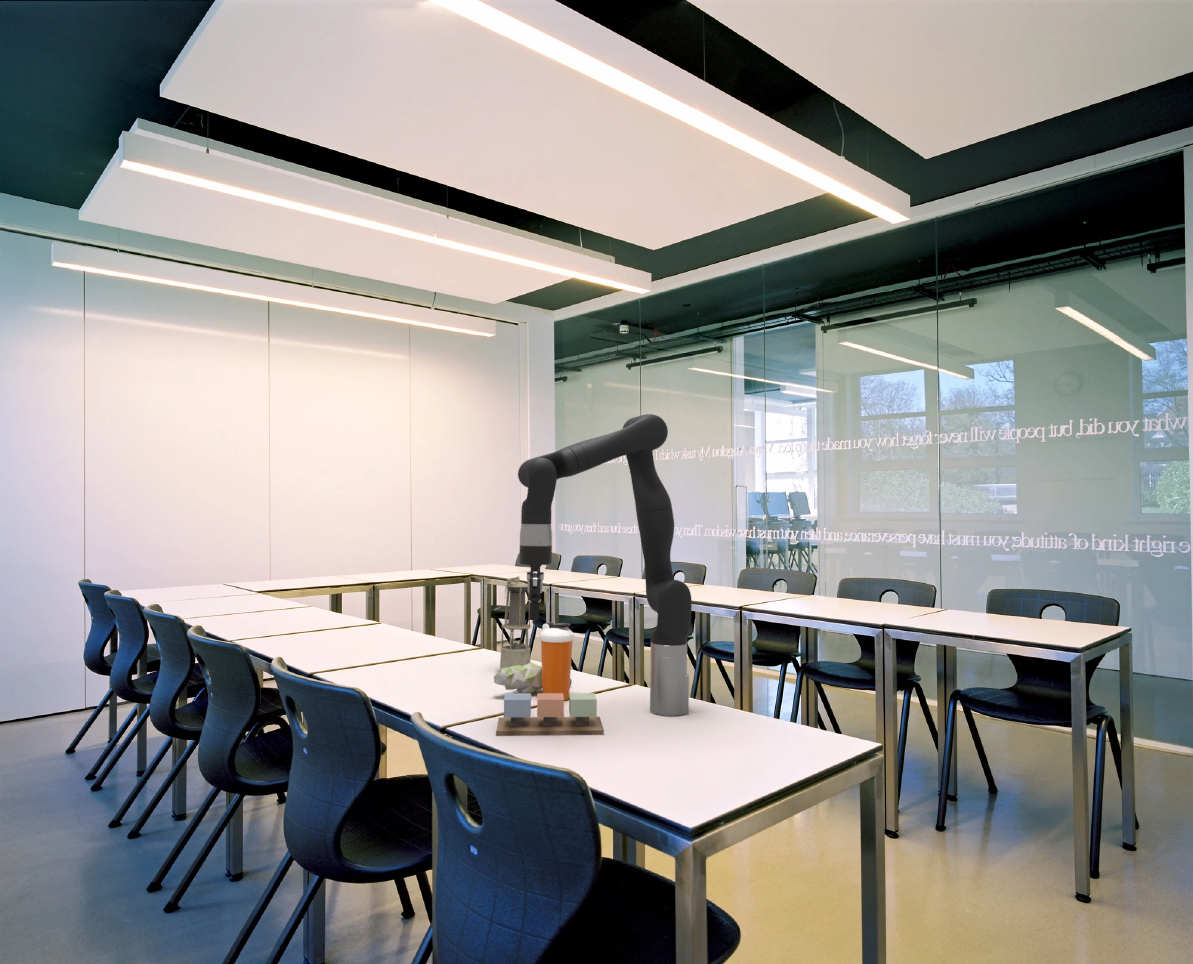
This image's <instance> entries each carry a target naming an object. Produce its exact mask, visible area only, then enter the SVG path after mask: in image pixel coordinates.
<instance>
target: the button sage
mask: <svg viewBox="0 0 1193 964" xmlns="http://www.w3.org/2000/svg"><path fill="white" fill-rule="evenodd" d="M568 700H569V701H568V703H569V704H568V712H569V717H598V716H597V712H598V711H597V708H598V706H597V704H598V703H597V702H598V701H597V700H598V699H597V696H596V693H594V692H584V693H583V692H579V693H578V692H577V693H576V692H569V699H568Z"/></svg>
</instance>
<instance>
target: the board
mask: <svg viewBox="0 0 1193 964" xmlns="http://www.w3.org/2000/svg"><path fill="white" fill-rule="evenodd" d="M592 735H593V736H594V735H595V736H596V735H597V736H598V735H599V736H600V735H601V736H604V735H605V729H604V726H603V723H602V719H601V716H597V717H570V716H564V717H537V716H530V717H504V716H502V717H498V721H497V725H496V729H495V736H497V737H498V736H503V737H504V736H505V737H506V736H510V737H511V736H513V737H514V736H592Z"/></svg>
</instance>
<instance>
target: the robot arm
mask: <svg viewBox="0 0 1193 964" xmlns="http://www.w3.org/2000/svg"><path fill="white" fill-rule="evenodd" d="M668 429H669V428H668V425H667V423H666V422H665V419H663V418H662V417H660V416H659V415H656V414H651V413H646V414H642V415H638V416H634V417H631V418H629V419H628V420H626V421H625V422H624V424H623V426H622V428H621V429H619V430H616V431H614V432H611V433H610V432H609V433H608V434H607V433H606V434H604V435H600V436H596V437H593V438H588V439H586V440H582V441H579V442H576V443H574V444H571V445H567V446H565V447H563V448H561V449H559V450H556V451H554V452H551V453H547V454H543V455H539V456H535V457H533V458H530V459H527V460H525V461H524V462H522V464H521V465H520V467H519V468H518V471H517V478H518V480H519V482H520V484H521V485H523V487H525V488H527V494H526V499H524V501H523V502H522V503H521V511H520V512H521V514H520V515H521V516H520V517H521V518H520V519H521V521H520V524H521V525H520V531H519V557H518V559H519V564H520V565H524V566H525V565H526V566H529V568H530V571H527V572H526V581H527V585H528V592H527V594H528V593H530V594H529V599H528V602H529V603H530V621H538V620H540V604H541V602H542V600H541V598H542V597H541V594H542V593H543V584H544V582H543V581H544V577H545V573H544V571H541V566H548V565H551V564H552V562H553V561H552V560H553V559H552V558H553V557H552V556H553V555H552V553H553V531H552V504H553V501H554V497H555V491H556V486H557V480H559V479H563V478H568V477H573V476H576V475H578V474H581V473H584V472H586V471H588V470H590V469H593V468H596V467H598V466H601V465H603V464H605V463H607V462H610V461H613V460H615V459H618V458H620V457H624V456H625V457H626V461H627V464H628V468H629V472H630V480H631V486H632V491H633V492H632V493H633V498H634V505H635V513H636V520H637V525H638V527H637V528H638V531H639V537H640V543H641V544H640V546H641V550H642V555H643V563H644V573H645V575H644V577H645V578H644V579H645V593H646V600H647V603H648V605H649V606H650V608H651V610H652V611H654V612H655V613H657V620H656V626H655V628H654V629H652V630H651V632H650V665H649V666H650V668H649V669H650V673H649V674H650V680H649V684H650V685H649V712H650V713H652V714H655V715H660V716H667V717H672V716H673V717H676V716H682V715H689V713H690V712H689V709H690V707H689V703H690V699H689V698H690V695H689V694H690V691H689V690H690V688H689V687H690V683H689V682H690V679H689V677H690V676H689V674H688V637H689V634H690V631H691V623H692V608H693V607H692V606H693V605H692V604H693V603H692V594H691V590H690V587H688V585H687V584H686V583H685V582H684V581H680V580H678V579H675V577H674V573H673V567H672V562H671V561H672V560H671V552H672V545H673V540H674V534H675V519H674V513H673V511H674V510H673V507H672V506H673V505H672V501H671V497H670V495H669V492H667V489H666V488H665V485H664V484H663V482H662V480H661V479H660V477H659V475H658V473H657V469H656V465H655V460H654V453H653V451H655V450H658V449H659V448H661V446H663V445H664V444H665V443H666V440H667V438H668V433H669V430H668Z"/></svg>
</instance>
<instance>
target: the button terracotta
mask: <svg viewBox="0 0 1193 964" xmlns="http://www.w3.org/2000/svg"><path fill="white" fill-rule="evenodd" d="M536 695H537V700H536V701H537V704H536V717H565V716H564V715H565V713H564V712H565V711H564V707H565V705H564V704H565V701H564V697H563V693H541V692H540V693H539V692H537V694H536Z"/></svg>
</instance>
